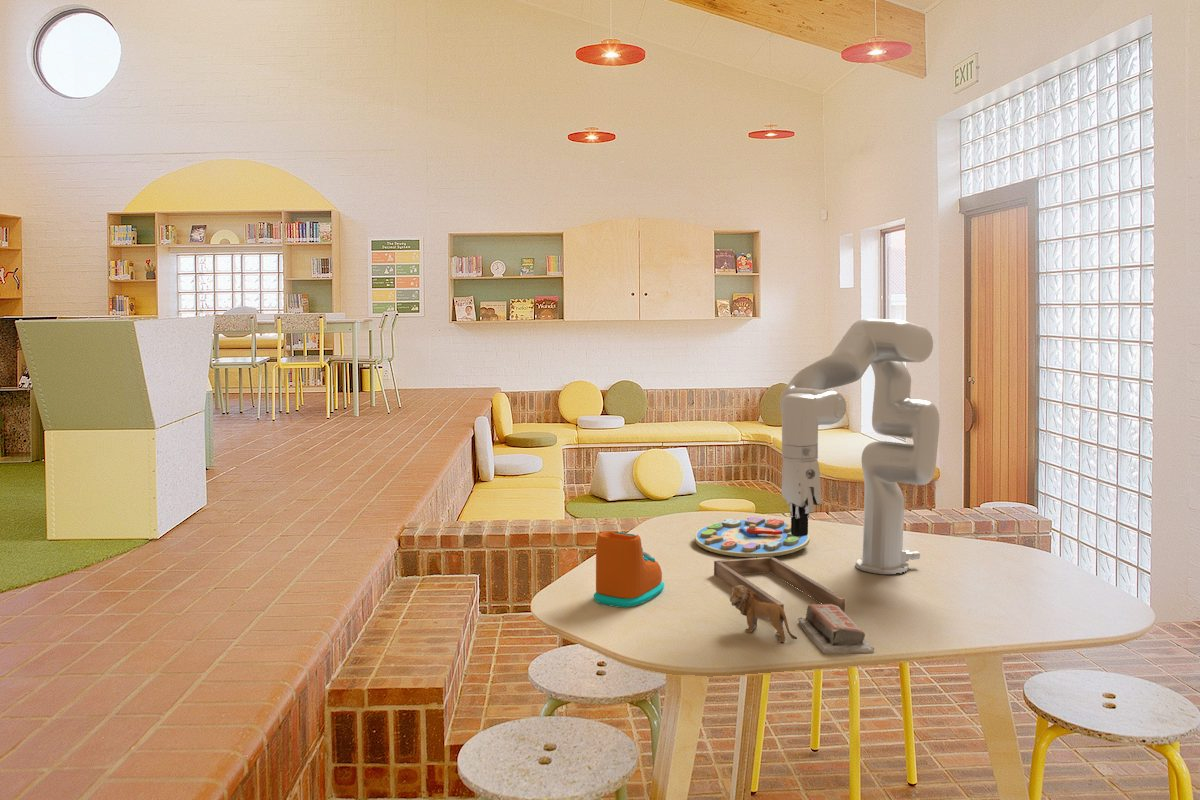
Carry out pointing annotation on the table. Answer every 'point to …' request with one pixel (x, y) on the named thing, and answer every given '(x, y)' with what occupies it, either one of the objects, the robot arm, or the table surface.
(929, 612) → the table surface
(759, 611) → the lion figurine
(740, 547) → the shape sorting clock
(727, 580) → the open-ended wooden frame
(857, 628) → the packaged product
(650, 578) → the toy shoe
